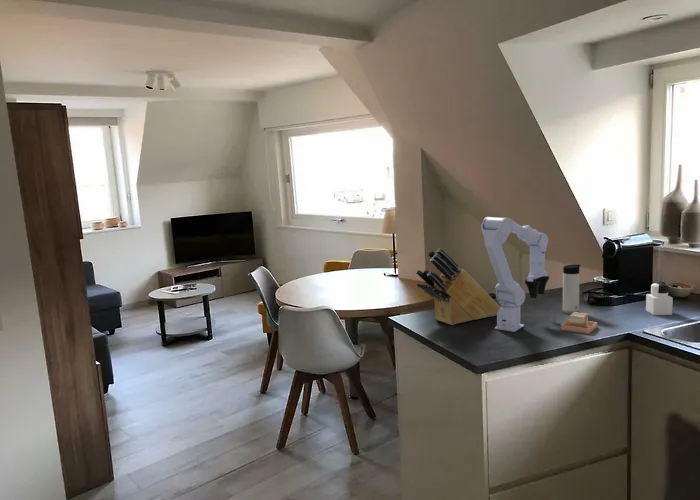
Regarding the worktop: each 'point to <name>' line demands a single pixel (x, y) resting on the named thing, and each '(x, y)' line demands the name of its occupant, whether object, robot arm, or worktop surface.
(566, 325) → the terracotta tray
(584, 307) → the worktop surface
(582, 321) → the beech block
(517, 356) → the worktop surface
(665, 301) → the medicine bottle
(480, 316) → the knife block
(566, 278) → the travel mug
